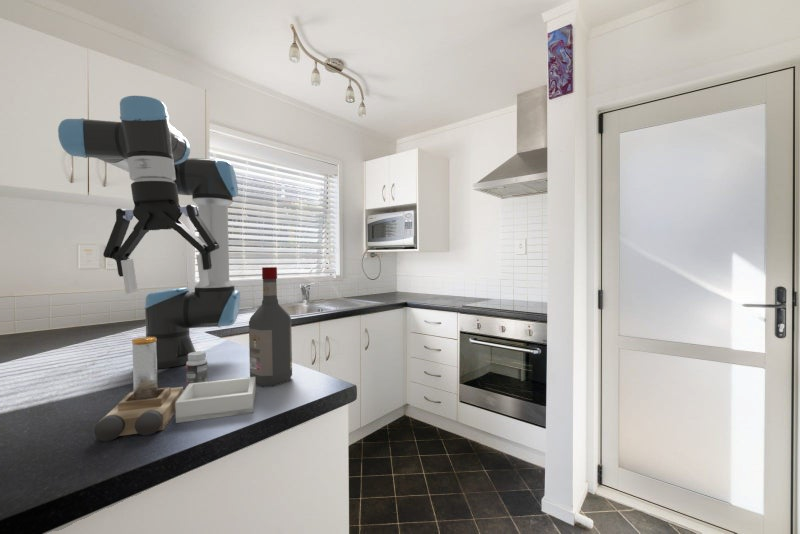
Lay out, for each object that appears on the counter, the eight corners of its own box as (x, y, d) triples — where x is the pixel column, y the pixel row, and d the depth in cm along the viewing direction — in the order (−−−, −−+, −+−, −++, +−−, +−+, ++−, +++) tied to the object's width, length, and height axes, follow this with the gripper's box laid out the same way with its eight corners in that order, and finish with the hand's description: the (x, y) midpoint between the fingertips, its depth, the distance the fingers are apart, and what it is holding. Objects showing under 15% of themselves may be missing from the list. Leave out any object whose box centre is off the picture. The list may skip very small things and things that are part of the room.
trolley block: (131, 405, 80) (131, 385, 80) (183, 399, 84) (183, 380, 84) (94, 442, 64) (93, 417, 64) (160, 433, 67) (160, 409, 67)
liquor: (265, 389, 90) (263, 267, 90) (246, 382, 96) (243, 267, 95) (296, 379, 97) (294, 266, 97) (276, 373, 103) (274, 267, 102)
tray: (189, 401, 83) (189, 383, 83) (255, 393, 87) (255, 376, 87) (175, 423, 71) (175, 402, 71) (252, 412, 76) (252, 393, 76)
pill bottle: (182, 387, 92) (181, 354, 92) (200, 381, 97) (199, 350, 97) (194, 389, 90) (193, 356, 90) (211, 384, 94) (211, 351, 94)
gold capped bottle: (137, 400, 76) (136, 337, 76) (160, 397, 77) (159, 336, 77) (130, 407, 72) (128, 341, 72) (154, 404, 73) (153, 339, 73)
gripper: (68, 182, 66) (87, 298, 68) (215, 176, 69) (228, 286, 72) (95, 187, 73) (112, 292, 75) (227, 181, 77) (239, 281, 79)
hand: (168, 289), depth 74 cm, fingers open, 13 cm apart
